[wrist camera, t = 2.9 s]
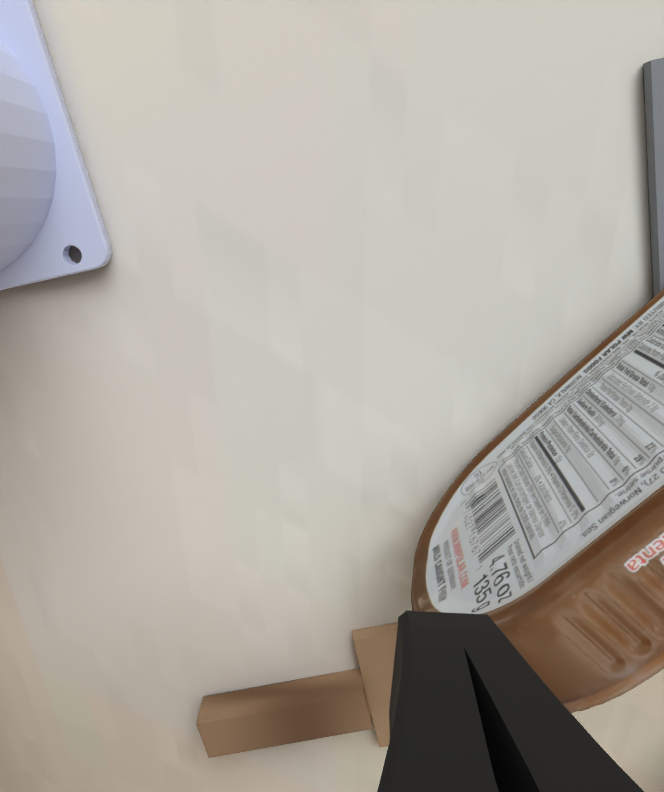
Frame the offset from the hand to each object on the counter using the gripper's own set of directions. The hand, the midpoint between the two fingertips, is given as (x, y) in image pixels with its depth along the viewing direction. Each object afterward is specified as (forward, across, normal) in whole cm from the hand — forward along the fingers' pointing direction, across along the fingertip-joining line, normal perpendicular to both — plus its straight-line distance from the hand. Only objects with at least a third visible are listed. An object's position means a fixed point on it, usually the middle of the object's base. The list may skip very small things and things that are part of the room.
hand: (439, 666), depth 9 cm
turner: (+10, 0, +10) cm, 14 cm away
